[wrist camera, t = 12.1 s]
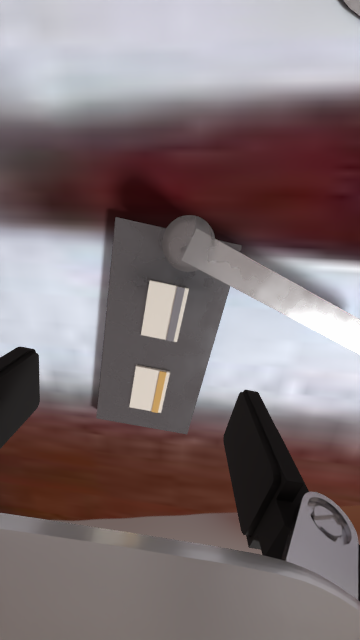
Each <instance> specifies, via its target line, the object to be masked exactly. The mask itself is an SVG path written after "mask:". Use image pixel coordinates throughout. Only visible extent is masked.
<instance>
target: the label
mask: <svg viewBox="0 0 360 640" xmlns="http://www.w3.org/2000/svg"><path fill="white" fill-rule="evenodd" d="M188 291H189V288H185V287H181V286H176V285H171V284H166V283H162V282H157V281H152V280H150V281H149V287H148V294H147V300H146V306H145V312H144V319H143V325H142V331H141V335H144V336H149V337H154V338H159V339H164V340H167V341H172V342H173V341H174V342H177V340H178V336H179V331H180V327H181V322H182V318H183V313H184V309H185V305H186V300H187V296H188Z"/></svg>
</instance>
